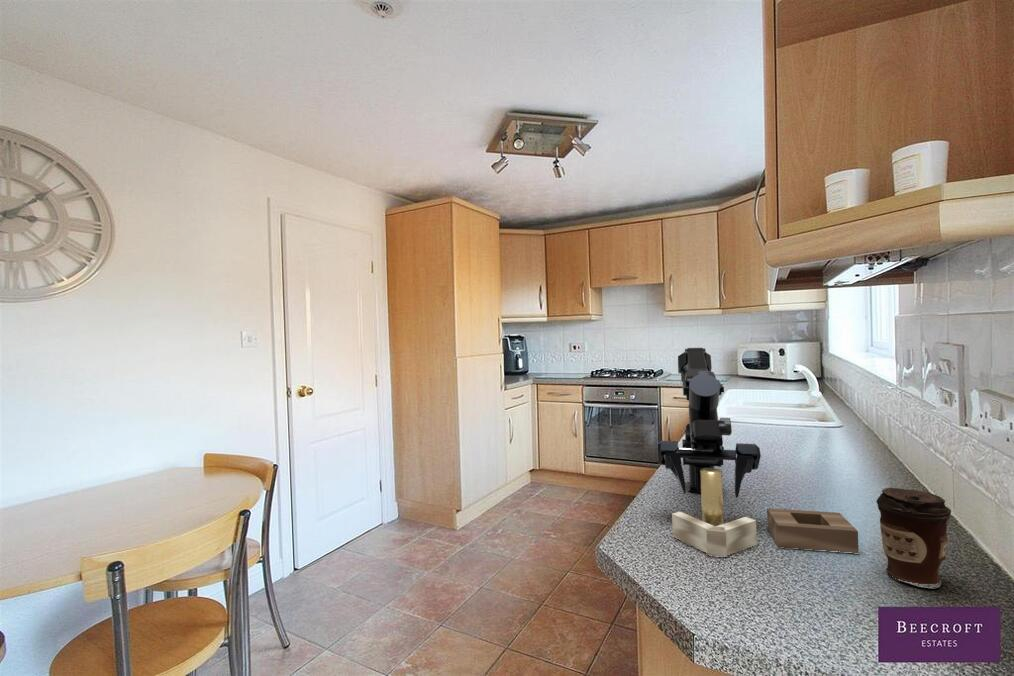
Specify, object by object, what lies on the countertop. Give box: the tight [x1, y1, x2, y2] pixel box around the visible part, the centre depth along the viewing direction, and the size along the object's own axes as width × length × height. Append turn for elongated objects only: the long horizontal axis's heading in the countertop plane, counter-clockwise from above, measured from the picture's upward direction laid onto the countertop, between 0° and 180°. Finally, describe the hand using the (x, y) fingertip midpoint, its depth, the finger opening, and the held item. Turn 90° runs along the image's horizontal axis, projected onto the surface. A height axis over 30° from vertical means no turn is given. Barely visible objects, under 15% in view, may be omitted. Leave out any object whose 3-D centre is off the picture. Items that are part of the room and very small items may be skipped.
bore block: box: [766, 507, 860, 553], centre depth 85 cm, size 8×12×4 cm, turn 73°
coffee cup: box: [876, 487, 952, 584], centre depth 71 cm, size 9×8×13 cm
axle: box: [700, 467, 725, 526], centre depth 86 cm, size 4×4×13 cm
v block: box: [671, 511, 758, 558], centre depth 84 cm, size 8×14×4 cm, turn 71°
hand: (710, 494), depth 90 cm, fingers open, 9 cm apart
